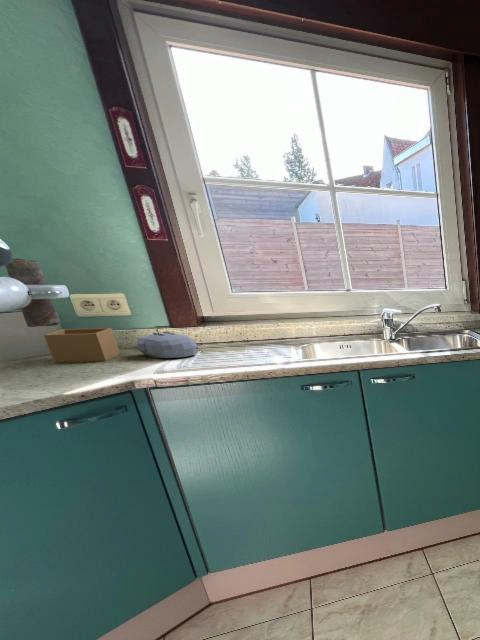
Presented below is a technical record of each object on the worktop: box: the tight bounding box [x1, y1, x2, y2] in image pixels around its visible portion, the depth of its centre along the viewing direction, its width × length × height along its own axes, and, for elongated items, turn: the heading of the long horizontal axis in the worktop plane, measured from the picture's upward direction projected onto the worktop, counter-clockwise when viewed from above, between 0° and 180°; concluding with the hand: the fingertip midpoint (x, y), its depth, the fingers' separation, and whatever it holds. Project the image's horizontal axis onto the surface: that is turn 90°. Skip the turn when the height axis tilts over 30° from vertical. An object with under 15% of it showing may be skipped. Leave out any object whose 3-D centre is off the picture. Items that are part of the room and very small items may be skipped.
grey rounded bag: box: [136, 331, 198, 359], centre depth 181 cm, size 15×8×20 cm
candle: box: [4, 257, 61, 328], centre depth 151 cm, size 8×7×20 cm
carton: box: [43, 327, 121, 364], centre depth 173 cm, size 13×13×10 cm
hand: (32, 289), depth 151 cm, fingers closed on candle, 7 cm apart
